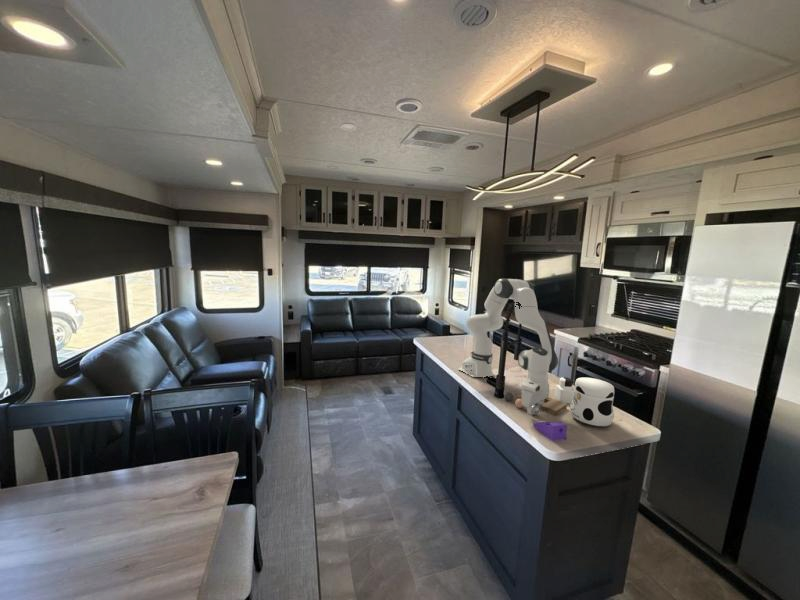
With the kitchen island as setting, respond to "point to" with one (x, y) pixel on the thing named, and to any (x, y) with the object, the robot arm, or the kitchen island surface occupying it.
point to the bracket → (552, 430)
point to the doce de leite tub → (593, 402)
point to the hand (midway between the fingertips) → (534, 410)
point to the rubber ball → (508, 396)
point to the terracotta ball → (519, 403)
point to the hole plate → (550, 405)
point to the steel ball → (535, 410)
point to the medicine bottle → (564, 390)
